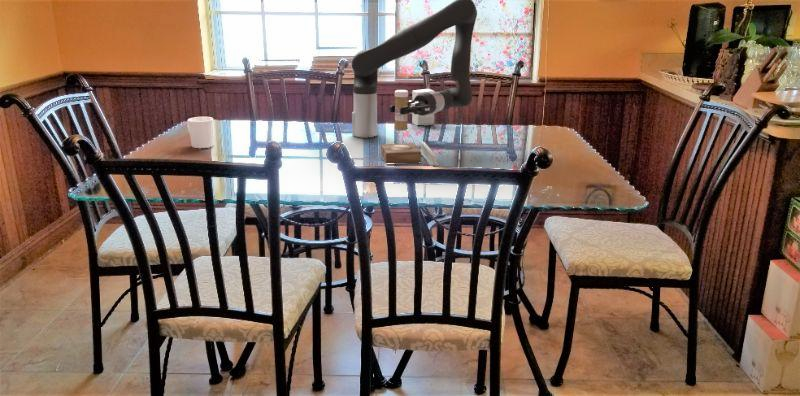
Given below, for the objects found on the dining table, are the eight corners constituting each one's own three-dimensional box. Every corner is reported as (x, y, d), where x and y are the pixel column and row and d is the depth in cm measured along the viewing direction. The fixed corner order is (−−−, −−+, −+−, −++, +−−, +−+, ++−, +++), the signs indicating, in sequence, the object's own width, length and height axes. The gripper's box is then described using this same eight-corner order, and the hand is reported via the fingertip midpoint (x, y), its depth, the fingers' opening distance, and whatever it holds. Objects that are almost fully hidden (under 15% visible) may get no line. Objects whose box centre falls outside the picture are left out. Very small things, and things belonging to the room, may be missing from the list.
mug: (220, 145, 238) (218, 118, 235) (204, 150, 230) (201, 122, 227) (197, 141, 242) (195, 115, 239) (181, 147, 235) (178, 119, 231)
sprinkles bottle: (391, 129, 218) (391, 90, 214) (400, 127, 221) (400, 88, 217) (402, 131, 215) (402, 92, 211) (410, 129, 219) (410, 90, 214)
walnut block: (381, 155, 226) (381, 143, 225) (414, 154, 228) (414, 142, 227) (386, 164, 215) (386, 152, 214) (420, 163, 217) (421, 151, 216)
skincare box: (428, 122, 278) (428, 88, 273) (434, 124, 273) (435, 90, 268) (411, 123, 275) (411, 89, 270) (417, 126, 270) (418, 91, 265)
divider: (418, 150, 233) (418, 141, 231) (426, 150, 233) (426, 141, 232) (430, 166, 214) (430, 156, 213) (438, 165, 214) (438, 155, 213)
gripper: (414, 90, 229) (380, 96, 218) (444, 95, 220) (411, 102, 208) (414, 110, 232) (380, 118, 220) (444, 116, 222) (410, 124, 211)
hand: (395, 110), depth 214 cm, fingers closed on sprinkles bottle, 4 cm apart
